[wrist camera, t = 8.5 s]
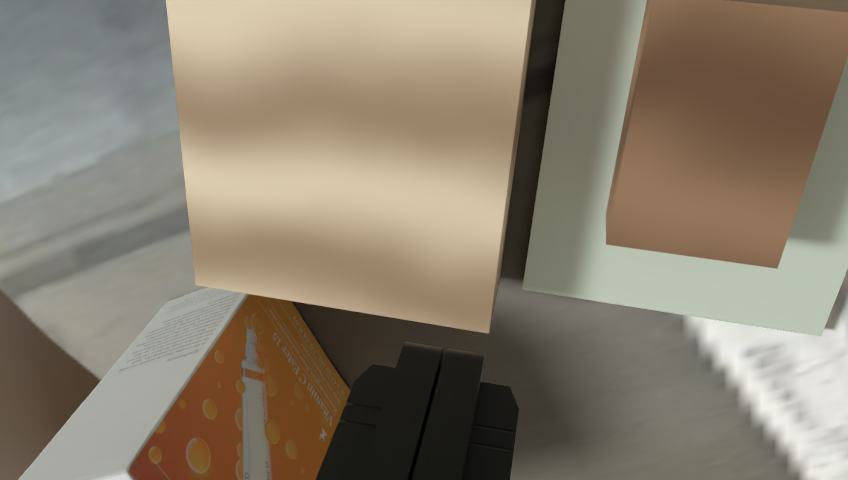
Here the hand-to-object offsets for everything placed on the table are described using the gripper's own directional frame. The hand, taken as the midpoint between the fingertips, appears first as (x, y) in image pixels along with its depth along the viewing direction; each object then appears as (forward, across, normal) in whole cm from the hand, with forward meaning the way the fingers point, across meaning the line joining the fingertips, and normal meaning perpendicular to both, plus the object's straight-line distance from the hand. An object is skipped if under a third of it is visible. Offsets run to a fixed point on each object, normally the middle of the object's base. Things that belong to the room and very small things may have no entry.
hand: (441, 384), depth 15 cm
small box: (+18, +11, +15) cm, 26 cm away
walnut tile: (+16, -7, 0) cm, 17 cm away
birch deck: (+18, +6, 0) cm, 19 cm away
